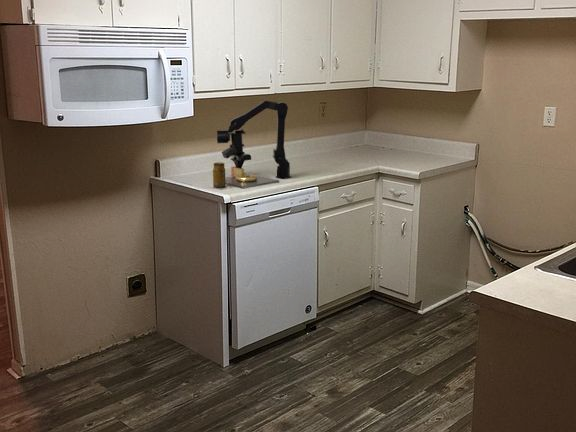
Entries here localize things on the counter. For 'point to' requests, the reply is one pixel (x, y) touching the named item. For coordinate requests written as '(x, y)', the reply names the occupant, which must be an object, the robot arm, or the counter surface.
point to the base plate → (249, 182)
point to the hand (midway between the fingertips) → (238, 171)
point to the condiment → (219, 176)
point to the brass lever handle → (241, 174)
